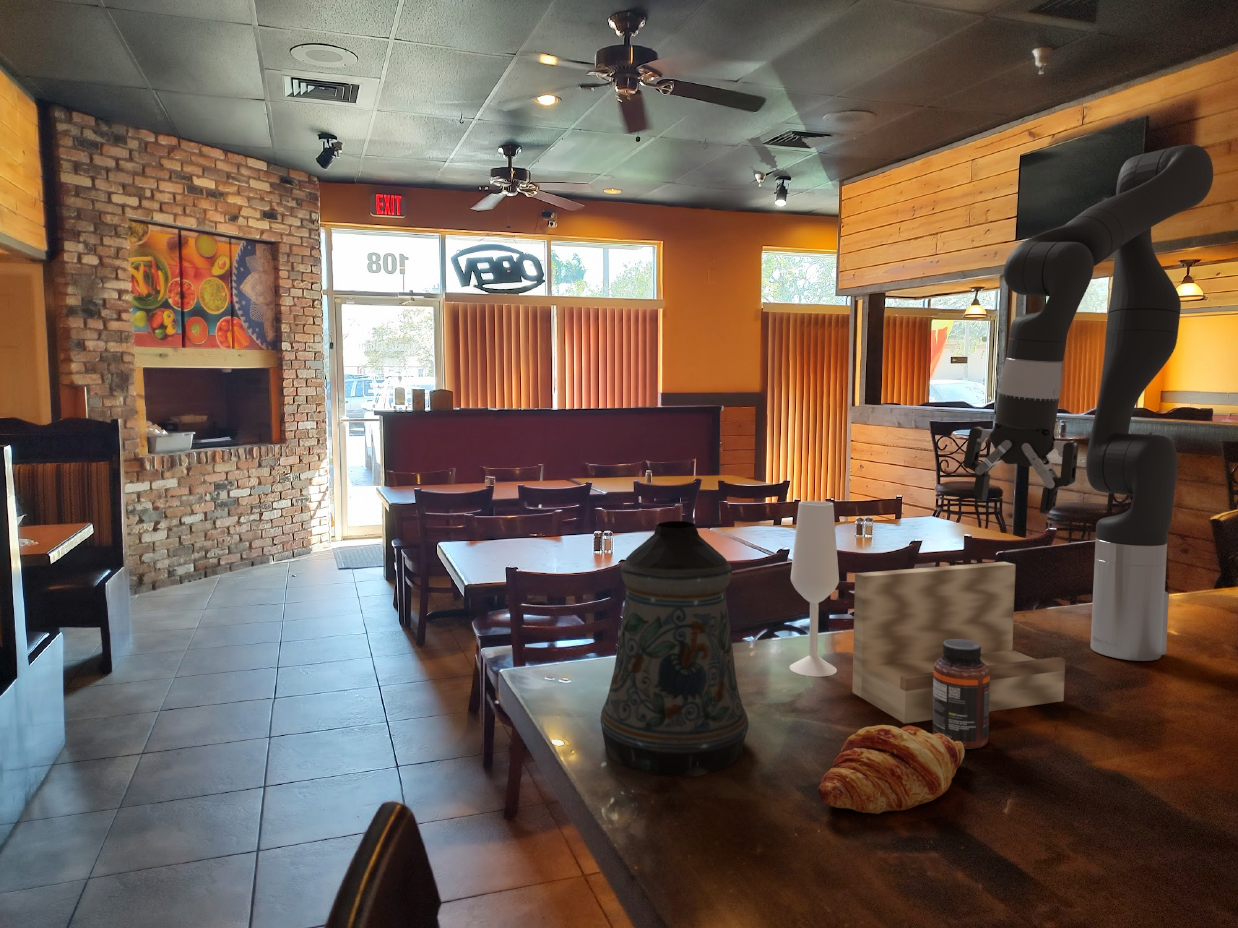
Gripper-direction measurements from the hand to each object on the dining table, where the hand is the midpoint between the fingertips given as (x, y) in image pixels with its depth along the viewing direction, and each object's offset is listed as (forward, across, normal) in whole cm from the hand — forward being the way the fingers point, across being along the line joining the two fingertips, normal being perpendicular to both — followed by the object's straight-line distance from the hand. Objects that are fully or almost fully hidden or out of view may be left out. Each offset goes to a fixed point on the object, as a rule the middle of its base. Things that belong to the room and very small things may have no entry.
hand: (1012, 506), depth 118 cm
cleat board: (+22, -2, +18) cm, 28 cm away
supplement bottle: (+21, -8, +31) cm, 38 cm away
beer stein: (+22, +16, +54) cm, 60 cm away
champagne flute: (+25, +17, +21) cm, 36 cm away
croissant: (+20, -8, +47) cm, 52 cm away
